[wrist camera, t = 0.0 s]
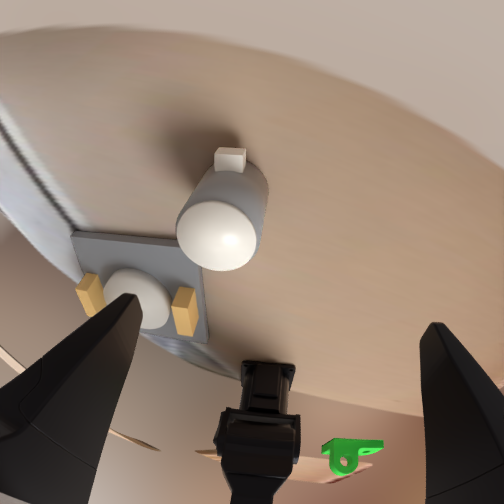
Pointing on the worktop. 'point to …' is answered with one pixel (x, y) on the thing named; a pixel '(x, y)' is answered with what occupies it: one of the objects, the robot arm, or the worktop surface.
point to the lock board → (145, 260)
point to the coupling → (224, 213)
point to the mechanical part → (349, 452)
